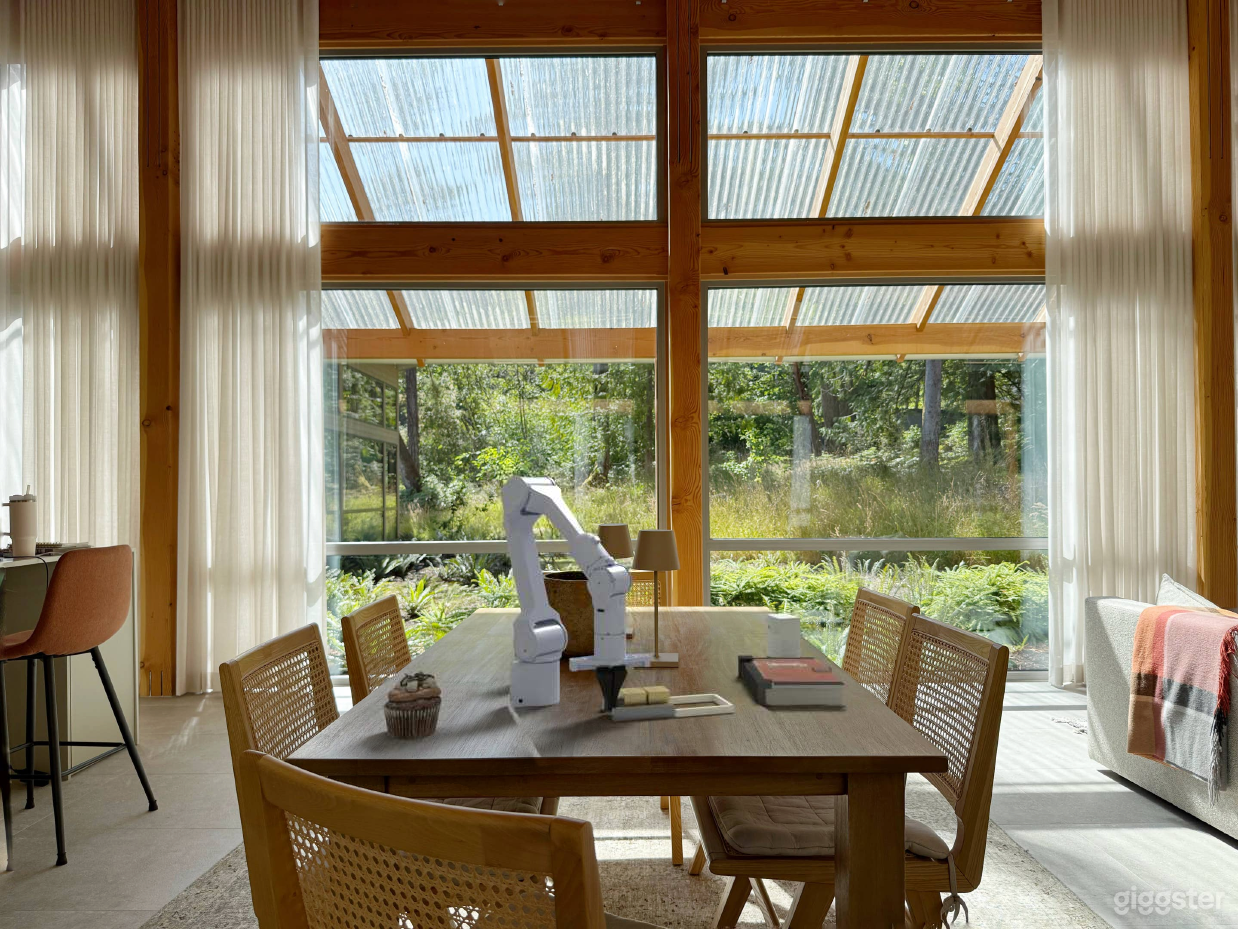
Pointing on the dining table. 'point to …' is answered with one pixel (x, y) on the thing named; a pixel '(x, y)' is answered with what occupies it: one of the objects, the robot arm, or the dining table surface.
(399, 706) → the cupcake
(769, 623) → the small box
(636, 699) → the brass chip
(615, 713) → the rail
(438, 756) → the dining table surface
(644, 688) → the brass chip
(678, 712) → the tray
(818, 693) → the book
